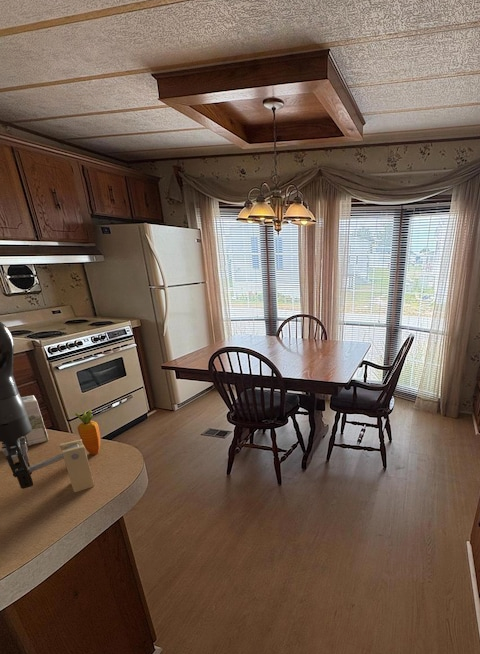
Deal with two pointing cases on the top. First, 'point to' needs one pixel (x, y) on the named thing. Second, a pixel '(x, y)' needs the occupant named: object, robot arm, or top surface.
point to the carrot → (89, 433)
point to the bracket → (77, 465)
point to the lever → (49, 460)
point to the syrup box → (34, 422)
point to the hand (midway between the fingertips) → (26, 480)
